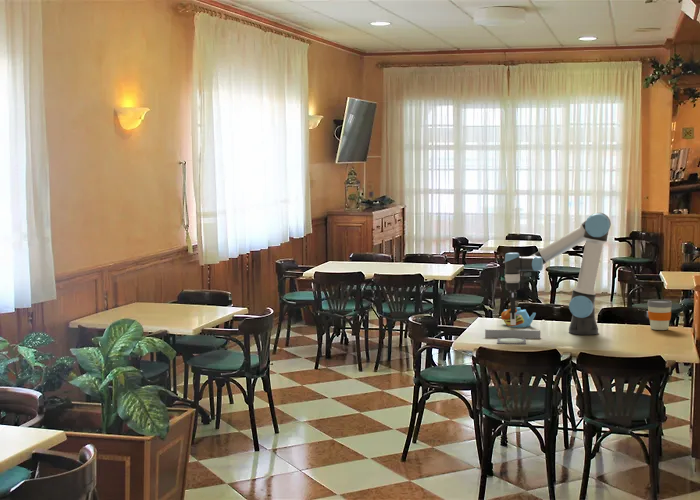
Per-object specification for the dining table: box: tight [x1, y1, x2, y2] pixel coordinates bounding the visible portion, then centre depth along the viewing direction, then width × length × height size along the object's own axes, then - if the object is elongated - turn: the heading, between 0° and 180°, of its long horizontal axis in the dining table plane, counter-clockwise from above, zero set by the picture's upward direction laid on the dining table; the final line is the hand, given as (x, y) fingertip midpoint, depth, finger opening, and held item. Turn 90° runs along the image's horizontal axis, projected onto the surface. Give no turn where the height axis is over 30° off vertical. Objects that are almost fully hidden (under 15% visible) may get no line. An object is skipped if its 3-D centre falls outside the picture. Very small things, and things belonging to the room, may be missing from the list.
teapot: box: [503, 306, 537, 329], centre depth 463 cm, size 15×15×11 cm
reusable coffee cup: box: [646, 299, 673, 331], centre depth 448 cm, size 13×13×15 cm
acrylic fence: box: [484, 328, 541, 339], centre depth 429 cm, size 28×1×4 cm, turn 79°
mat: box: [496, 338, 527, 345], centre depth 418 cm, size 14×14×1 cm
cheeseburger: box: [500, 307, 524, 327], centre depth 440 cm, size 10×11×10 cm
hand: (513, 323), depth 440 cm, fingers closed on cheeseburger, 10 cm apart
